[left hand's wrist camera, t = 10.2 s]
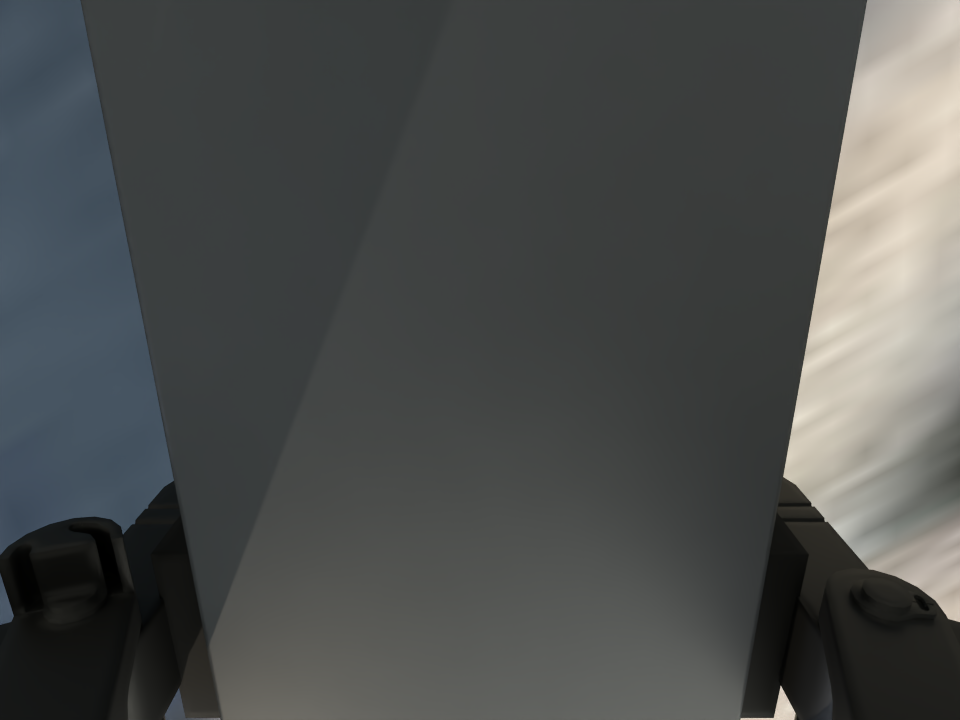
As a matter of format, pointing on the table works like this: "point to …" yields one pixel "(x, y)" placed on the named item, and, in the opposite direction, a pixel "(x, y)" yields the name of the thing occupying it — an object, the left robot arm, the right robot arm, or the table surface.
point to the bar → (476, 335)
